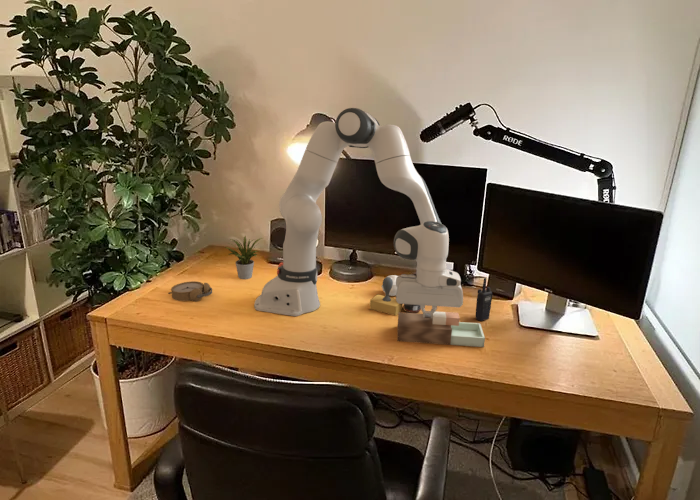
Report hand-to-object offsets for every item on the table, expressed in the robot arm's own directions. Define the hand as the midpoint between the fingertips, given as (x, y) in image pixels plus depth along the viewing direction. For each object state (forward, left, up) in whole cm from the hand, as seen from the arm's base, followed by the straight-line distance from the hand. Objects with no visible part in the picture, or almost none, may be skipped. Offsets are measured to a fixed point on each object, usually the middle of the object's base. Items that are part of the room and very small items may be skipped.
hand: (427, 317), depth 166 cm
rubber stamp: (-13, +17, -6) cm, 23 cm away
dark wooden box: (-1, 0, -6) cm, 6 cm away
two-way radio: (+19, +15, -6) cm, 25 cm away
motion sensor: (-11, +30, -6) cm, 33 cm away
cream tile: (+3, 0, -1) cm, 4 cm away
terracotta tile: (+7, 0, -1) cm, 8 cm away
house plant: (-68, +40, -6) cm, 79 cm away
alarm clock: (-82, +18, -7) cm, 84 cm away
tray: (+12, 0, -6) cm, 14 cm away
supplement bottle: (-4, +18, -6) cm, 20 cm away
